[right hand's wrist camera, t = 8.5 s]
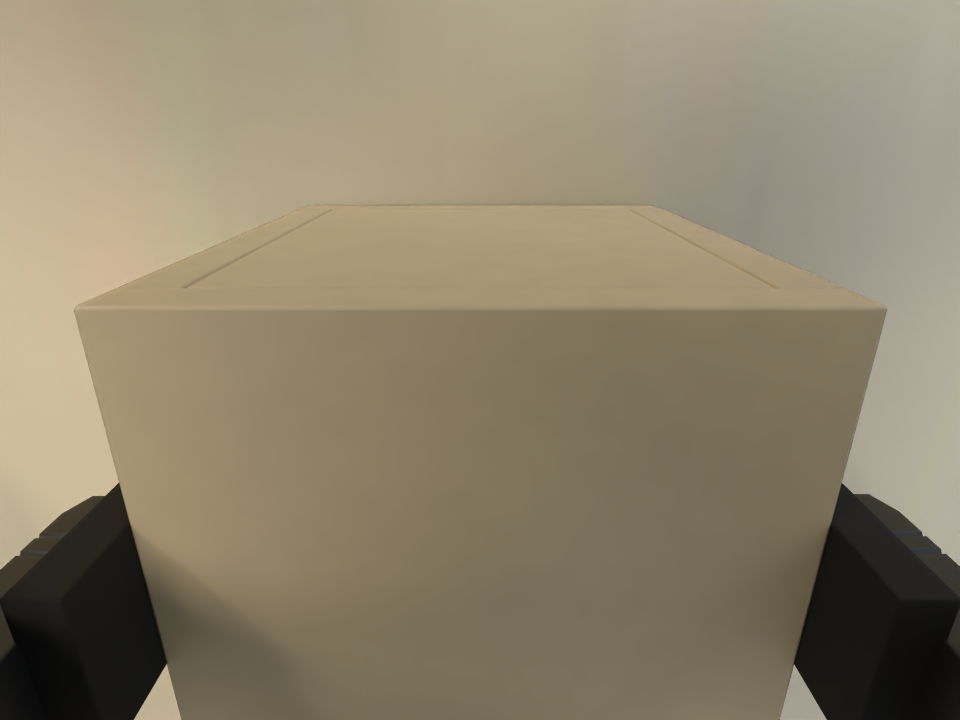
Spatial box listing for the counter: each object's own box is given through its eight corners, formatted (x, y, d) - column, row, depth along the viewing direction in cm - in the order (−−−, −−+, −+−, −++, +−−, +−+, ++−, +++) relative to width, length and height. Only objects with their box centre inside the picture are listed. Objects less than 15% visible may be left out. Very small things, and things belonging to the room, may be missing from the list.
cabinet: (609, 634, 23) (705, 1008, 13) (351, 633, 23) (255, 1007, 13) (655, 205, 17) (891, 305, 7) (306, 205, 17) (70, 306, 7)
